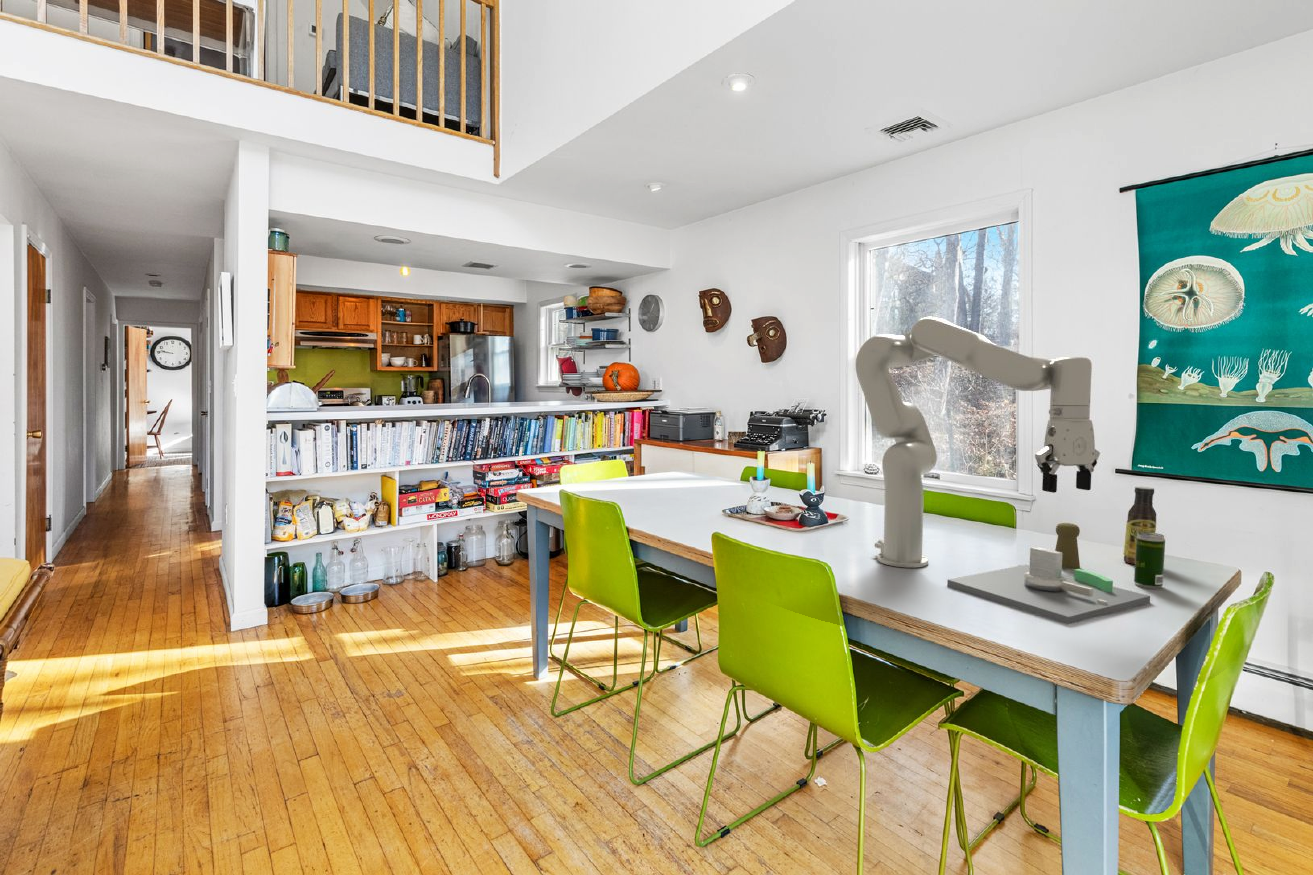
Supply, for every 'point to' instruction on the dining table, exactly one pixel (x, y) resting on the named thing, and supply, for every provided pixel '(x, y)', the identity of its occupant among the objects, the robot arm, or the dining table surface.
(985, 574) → the dial board
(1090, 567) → the dining table surface
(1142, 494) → the sauce bottle
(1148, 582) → the beer can
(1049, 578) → the knob
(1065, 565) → the cork
